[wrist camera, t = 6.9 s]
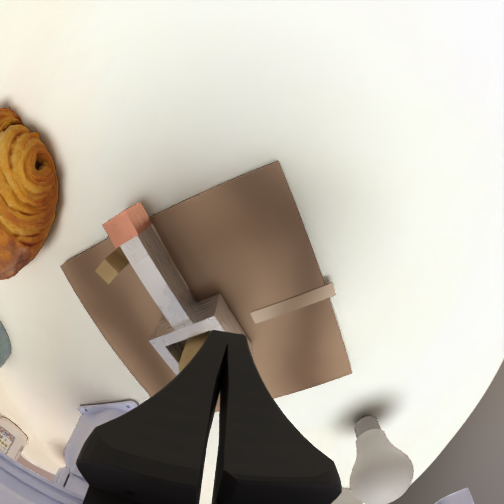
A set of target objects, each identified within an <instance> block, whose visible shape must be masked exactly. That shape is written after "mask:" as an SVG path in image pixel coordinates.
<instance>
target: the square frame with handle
mask: <svg viewBox="0 0 504 504" xmlns="http://www.w3.org/2000/svg"><path fill="white" fill-rule="evenodd" d="M151 224H152V222H151V220H150V218H149V216H148V215H147V213H146V211H145V209H144V207H143V206H142V204H141V202H139V203H137V204H135V205H133V206H131V207H130V208H128V209H126V210H124V211H123V212H121V213H120V214H118V215H116V216H115V217H113V218H112V219H110V220H109V221H107V222H106V223H104V224H103V227H104V229H105V231H106V232H107V234H108V236H109V238H110V239H111V241H112V243H113V244H114V246H115V248H117V247H119V246H120V247H121V249H122V251H123V252H124V254H125V256H126V257H127V259H128V261H129V262H130V264H131V266H132V267H133V269H134V270H135V272H136V274H137V275H138V277H139V278H140V280H141V281H142V283H143V285H144V286H145V288H146V289H147V291H148V292H149V294H150V295H151V297H152V298H153V300H154V301H155V303H156V304H157V306H158V307H159V309H160V310H161V311H162V313H163V314H164V316H163V317H161V318H160V319H159V321H158V323H157V325H156V327H155V329H154V331H153V333H152V335H151V337H150V339H149V342H150V343H151V344H152V346H153V347H154V348H155V349H156V351H157V352H158V353H159V355H160V356H161V357H162V358H163V360H164V361H165V362H166V363H167V364H168V366H169V367H170V368H171V369H172V370H173V372H174V373H175V374H176V375H178V374H179V373H180V371H179V362H180V359H181V356H182V353H183V350H184V347H185V344H186V341H187V339H188V338H190V337H193V336H196V335H199V334H201V333H204V332H207V331H209V330H210V331H212V330H218V331H225V332H231V333H238V334H244V335H245V333H244V331H243V330H242V328H241V327H240V325H239V323H238V322H237V320H236V319H235V317H234V315H233V314H232V312H231V311H230V309H229V307H228V306H227V304H226V302H225V301H224V299H223V297H222V296H221V294H220V293H219V294H216V295H214V296H212V297H209V298H207V299H204V300H202V301H200V302H196V300H195V299H194V297H193V296H192V294H191V293H190V291H189V289H188V288H187V286H186V285H185V283H184V281H183V280H182V278H181V277H180V275H179V273H178V272H177V270H176V268H175V267H174V265H173V263H172V262H171V260H170V258H169V257H168V255H167V253H166V252H165V250H164V248H163V247H162V245H161V243H160V241H159V240H158V238H157V236H156V235H155V233H154V231H153V229H152V228H151V226H150V225H151ZM245 336H246V335H245ZM246 337H247V336H246ZM247 341H248V345H249V349H250V352H251V355H252V358H253V346H252V344H251V342H250V341H249V339H248V338H247Z"/></svg>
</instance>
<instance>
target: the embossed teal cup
mask: <svg viewBox="0 0 504 504" xmlns="http://www.w3.org/2000/svg"><path fill="white" fill-rule="evenodd" d="M10 345H11V344H10V340H9V337H8V335H7V333H6V331H5V329H4V327H3V325H2V323H1V322H0V368H1V367H2V365H3V364H4V363H5V361H6V360H7V359H8V357H9V356H10V353H11V346H10Z"/></svg>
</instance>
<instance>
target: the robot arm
mask: <svg viewBox="0 0 504 504" xmlns="http://www.w3.org/2000/svg"><path fill="white" fill-rule="evenodd" d="M219 393H220V414H219V446H218V455H217V463H216V471H215V480H214V488H213V496H212V504H331V503H332V502H333V501H334V500H336V499H337V498H338V496H339V495H340V494H341V493H342V486H341V481H340V477H339V474H338V472H337V469H336V466H335V464H334V462H333V461H332V460H331V459H330V458H328V457H327V456H326V455H324V454H323V453H322V452H321V451H319V450H318V449H317V448H316V447H314V446H313V445H312V444H311V443H310V442H309V441H308V440H307V439H306V438H305V437H304V436H303V435H302V434H301V433H300V432H299V431H298V430H297V429H296V428H295V427H294V425H293V424H292V423H291V422H290V421H289V420H288V419H287V417H286V416H285V415H284V414H283V412H282V411H281V410H280V408H279V407H278V405H277V404H276V402H275V401H274V399H273V398H272V396H271V395H270V393H269V391H268V390H267V388H266V386H265V384H264V382H263V380H262V378H261V376H260V374H259V372H258V370H257V368H256V365H255V363H254V360H253V358H252V355H251V352H250V349H249V345H248V341H247V337H246V336H245V335H244V334H238V333H231V332H225V331H218V330H212V331H210V333H209V335H208V337H207V339H206V340H205V342H204V343H203V345H202V346H201V348H200V349H199V351H198V352H197V353H196V354H195V356H194V357H193V358H192V359H191V361H190V362H189V363H188V364H187V365H186V366H185V367H184V368H183V370H182V371H181V372H180V373H179V374H178V375H177V376H176V377H175V378H174V379H173V380H172V381H170V382H169V383H168V384H167V385H166V386H165V387H164V388H162V389H161V390H160V391H159V392H157V393H156V394H155V395H153V396H152V397H151V398H149V399H148V400H146V401H145V402H143V403H142V404H140V405H139V406H138V405H137V404H136V403H135V402H133V401H124V402H116V403H107V404H98V405H87V406H79V407H78V410H79V411H80V412H81V413H82V415H81V417H80V419H79V421H78V423H77V425H76V427H75V429H74V431H73V433H72V435H71V437H70V439H69V441H68V443H67V445H66V448H65V453H64V456H65V463H66V465H67V466H65V467H62V468H59V470H58V472H57V473H56V475H55V477H54V480H53V482H52V481H50V480H48V479H46V478H44V477H42V476H41V475H39V474H37V473H35V472H33V471H31V470H30V469H28V468H26V467H25V466H23V465H21V464H20V463H18V462H17V461H15V460H13V459H12V458H10V457H9V456H7V455H6V454H4V453H3V452H1V451H0V504H199V500H200V492H201V484H202V477H203V470H204V462H205V455H206V448H207V442H208V437H209V433H210V429H211V425H212V421H213V417H214V413H215V409H216V405H217V401H218V397H219ZM435 504H475V503H474V501H473V498H472V496H471V494H470V491H469V489H468V488H464V489H462V490H460V491H457V492H455V493H452V494H450V495H448V496H446V497H444V498H442V499H441V500H439V501H438V502H436V503H435Z"/></svg>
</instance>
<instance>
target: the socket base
mask: <svg viewBox="0 0 504 504" xmlns="http://www.w3.org/2000/svg"><path fill="white" fill-rule="evenodd" d="M146 213H147V212H146ZM147 215H148V214H147ZM149 218H150V220H151V222H152V224H151V225H150V226H151V228H152V229H153V231H154V233H155V235H156V236H157V238H158V240H159V241H160V243H161V245H162V247H163V248H164V250H165V252H166V253H167V255H168V257H169V258H170V260H171V262H172V263H173V265H174V267H175V268H176V270H177V272H178V273H179V275H180V277H181V278H182V280H183V281H184V283H185V285H186V286H187V288H188V289H189V291H190V293H191V294H192V296H193V297H194V299H195V300H196V302H200V301H202V300H204V299H207V298H209V297H212V296H214V295H216V294H219V293H220V294H221V296H222V297H223V299H224V301H225V302H226V304H227V306H228V307H229V309H230V311H231V312H232V314H233V315H234V317H235V319H236V320H237V322H238V323H239V325H240V327H241V328H242V330H243V331H244V333H245V335H246V336H247V338H248V339H249V341H250V342H251V344H252V346H253V360H254V363H255V365H256V368H257V370H258V372H259V374H260V376H261V378H262V380H263V382H264V384H265V386H266V388H267V390H268V391H269V393H270V395H271V396H272V398H273V399H274V398H277V397H281V396H284V395H288V394H291V393H295V392H298V391H302V390H305V389H308V388H311V387H314V386H317V385H320V384H323V383H326V382H329V381H332V380H335V379H338V378H341V377H343V376H346V375H349V374H352V371H351V367H350V364H349V360H348V357H347V353H346V350H345V347H344V343H343V340H342V337H341V333H340V330H339V327H338V324H337V321H336V317H335V314H334V311H333V308H332V305H331V302H330V299H329V297H332V296H334V295H336V294H335V291H334V288H333V284H332V282H331V283H329V284H326V285H325V284H324V281H323V278H322V275H321V272H320V269H319V266H318V263H317V261H316V258H315V255H314V252H313V249H312V247H311V244H310V241H309V238H308V236H307V233H306V230H305V227H304V225H303V222H302V219H301V217H300V214H299V211H298V209H297V206H296V204H295V201H294V198H293V196H292V193H291V191H290V188H289V186H288V183H287V181H286V178H285V176H284V173H283V171H282V168H281V166H280V163H279V161H276V162H274V163H271V164H269V165H266V166H264V167H261V168H259V169H256V170H254V171H251V172H249V173H246V174H244V175H241V176H239V177H237V178H234V179H232V180H230V181H227V182H225V183H223V184H220V185H218V186H216V187H213V188H211V189H209V190H207V191H204V192H202V193H200V194H198V195H195V196H193V197H191V198H189V199H187V200H184V201H182V202H180V203H178V204H176V205H174V206H172V207H170V208H167V209H165V210H163V211H161V212H159V213H157V214H155V215H153V216H151V217H149ZM60 267H61V268H62V270H63V272H64V274H65V276H66V277H67V279H68V281H69V283H70V284H71V286H72V288H73V290H74V291H75V293H76V295H77V296H78V298H79V299H80V301H81V303H82V304H83V306H84V308H85V309H86V311H87V312H88V314H89V315H90V317H91V318H92V320H93V321H94V323H95V324H96V326H97V327H98V329H99V330H100V332H101V333H102V335H103V336H104V338H105V339H106V340H107V342H108V343H109V345H110V346H111V347H112V349H113V350H114V351H115V353H116V354H117V355H118V357H119V358H120V359H121V361H122V362H123V363H124V365H125V366H126V367H127V368H128V370H129V371H130V372H131V373H132V375H133V376H134V377H135V378H136V380H137V381H138V382H139V383H140V385H141V386H142V387H143V388H144V389H145V390H146V392H147V393H148V394H149V395H150V396H151V397H152V396H153V395H155V394H156V393H157V392H159V391H160V390H161V389H162V388H164V387H165V386H166V385H167V384H168V383H169V382H170V381H172V380H173V379H174V378H175V377H176V376H177V375H176V374H175V373H174V372H173V370H172V369H171V368H170V367H169V366H168V364H167V363H166V362H165V361H164V360H163V358H162V357H161V356H160V355H159V353H158V352H157V351H156V349H155V348H154V347H153V346H152V344H151V343H150V342H149V339H150V337H151V335H152V333H153V331H154V329H155V327H156V325H157V323H158V321H159V319H160V318H161V317H163V316H164V314H163V313H162V311H161V310H160V309H159V307H158V306H157V304H156V303H155V301H154V300H153V298H152V297H151V295H150V294H149V292H148V291H147V289H146V288H145V286H144V285H143V283H142V281H141V280H140V278H139V277H138V275H137V274H136V272H135V270H134V269H133V267H132V266H131V264H130V262H129V261H128V259H127V257H126V256H125V254H124V252H123V251H122V249H121V247H120V246H119V247H117V248H115V246H114V244H113V243H112V241H111V239H110V238H108V239H106V240H104V241H102V242H101V243H99V244H97V245H95V246H93V247H91V248H90V249H88V250H86V251H84V252H82V253H81V254H79V255H77V256H75V257H74V258H72V259H70V260H68V261H67V262H65V263H64V264H62V265H61V266H60ZM209 333H210V330H209V331H207V332H204V333H201V334H199V335H196V336H193V337H190V338H188V339H187V341H186V344H185V347H184V350H183V353H182V356H181V359H180V362H179V371H180V372H181V371H182V370H183V368H184V367H185V366H186V365H187V364H188V363H189V362H190V361H191V359H192V358H193V357H194V356H195V354H196V353H197V352H198V351H199V349H200V348H201V346H202V345H203V343H204V342H205V340H206V339H207V337H208V335H209ZM217 411H220V393H219V397H218V401H217V405H216V409H215V412H217Z"/></svg>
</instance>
